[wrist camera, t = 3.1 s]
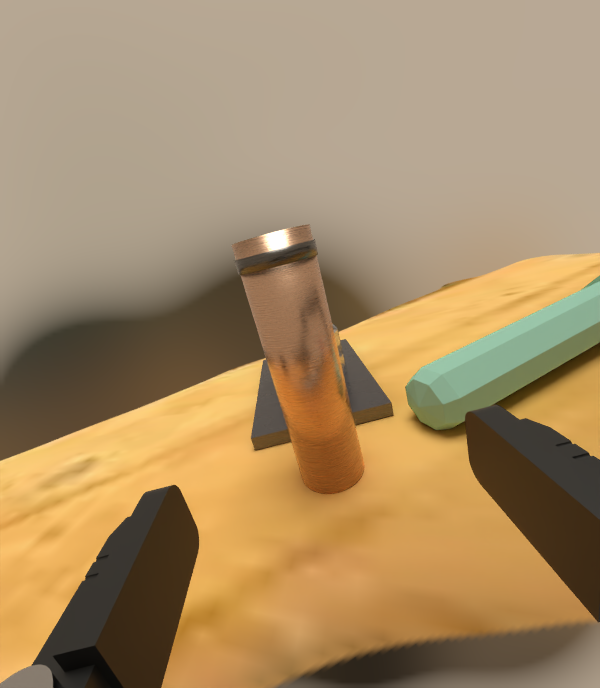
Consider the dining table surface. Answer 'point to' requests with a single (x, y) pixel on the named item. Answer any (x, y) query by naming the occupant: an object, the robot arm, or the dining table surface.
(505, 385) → the container
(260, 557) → the dining table surface
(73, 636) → the robot arm
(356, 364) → the stove plate
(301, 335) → the metal tube
